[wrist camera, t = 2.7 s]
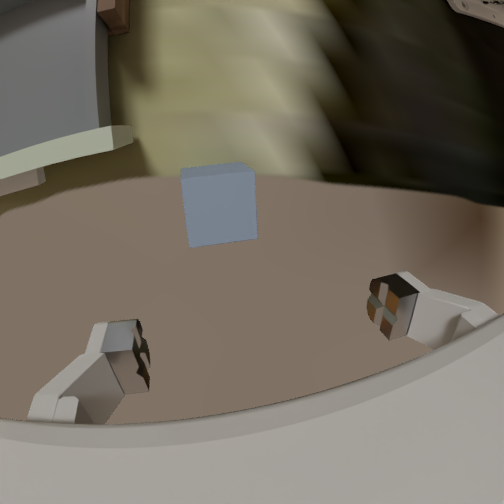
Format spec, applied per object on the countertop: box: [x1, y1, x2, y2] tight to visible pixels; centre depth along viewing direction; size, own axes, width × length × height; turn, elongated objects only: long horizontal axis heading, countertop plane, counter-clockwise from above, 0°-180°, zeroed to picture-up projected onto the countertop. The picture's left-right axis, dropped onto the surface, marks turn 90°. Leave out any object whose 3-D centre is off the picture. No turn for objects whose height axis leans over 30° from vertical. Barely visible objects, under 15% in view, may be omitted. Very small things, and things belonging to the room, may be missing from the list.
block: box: [181, 162, 258, 248], centre depth 23 cm, size 5×5×5 cm
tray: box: [0, 0, 133, 196], centre depth 13 cm, size 18×17×7 cm
